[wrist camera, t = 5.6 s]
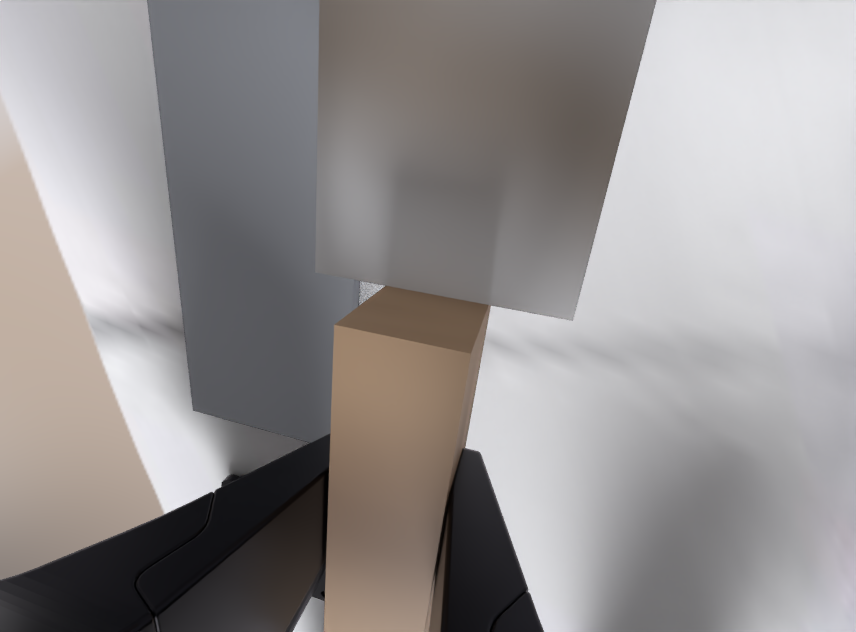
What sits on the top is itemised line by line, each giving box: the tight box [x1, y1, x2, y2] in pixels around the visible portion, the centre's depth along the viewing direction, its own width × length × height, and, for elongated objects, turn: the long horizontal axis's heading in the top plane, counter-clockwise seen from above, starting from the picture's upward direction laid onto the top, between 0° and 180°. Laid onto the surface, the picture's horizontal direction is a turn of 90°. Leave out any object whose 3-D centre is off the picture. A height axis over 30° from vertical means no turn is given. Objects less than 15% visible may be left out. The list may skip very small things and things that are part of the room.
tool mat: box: [147, 0, 360, 443], centre depth 15 cm, size 22×8×1 cm, turn 173°
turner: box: [315, 0, 656, 632], centre depth 7 cm, size 14×5×3 cm, turn 173°
